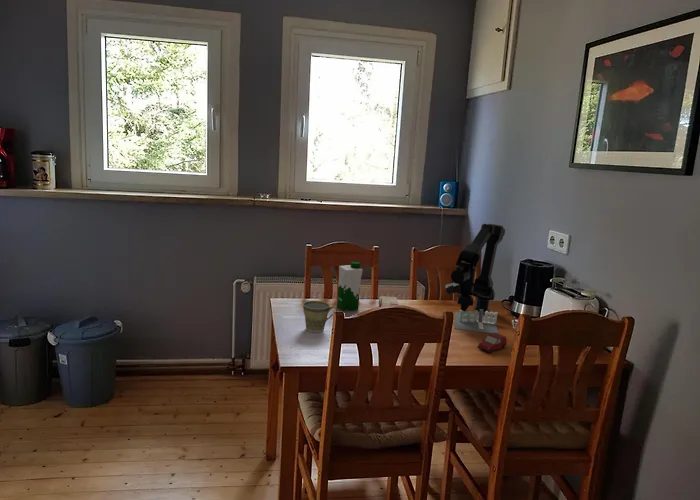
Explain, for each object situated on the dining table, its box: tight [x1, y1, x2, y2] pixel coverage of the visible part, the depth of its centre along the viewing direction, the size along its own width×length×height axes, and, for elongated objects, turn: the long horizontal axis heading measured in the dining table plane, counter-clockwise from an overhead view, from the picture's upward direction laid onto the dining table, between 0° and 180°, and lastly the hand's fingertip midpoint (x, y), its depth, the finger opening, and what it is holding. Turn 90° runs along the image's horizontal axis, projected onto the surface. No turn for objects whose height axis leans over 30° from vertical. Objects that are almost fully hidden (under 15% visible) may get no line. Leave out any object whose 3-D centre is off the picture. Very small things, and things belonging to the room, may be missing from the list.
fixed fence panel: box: [478, 309, 498, 324], centre depth 222 cm, size 7×2×5 cm, turn 79°
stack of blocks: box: [378, 295, 399, 307], centre depth 206 cm, size 21×6×12 cm, turn 179°
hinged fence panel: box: [458, 309, 479, 321], centre depth 221 cm, size 8×1×4 cm, turn 100°
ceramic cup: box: [302, 300, 338, 334], centre depth 198 cm, size 13×10×10 cm
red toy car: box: [477, 332, 508, 354], centre depth 194 cm, size 6×12×5 cm, turn 132°
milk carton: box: [336, 261, 364, 311], centre depth 226 cm, size 9×9×20 cm
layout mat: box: [454, 311, 499, 334], centre depth 221 cm, size 22×17×1 cm
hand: (462, 313), depth 223 cm, fingers closed
